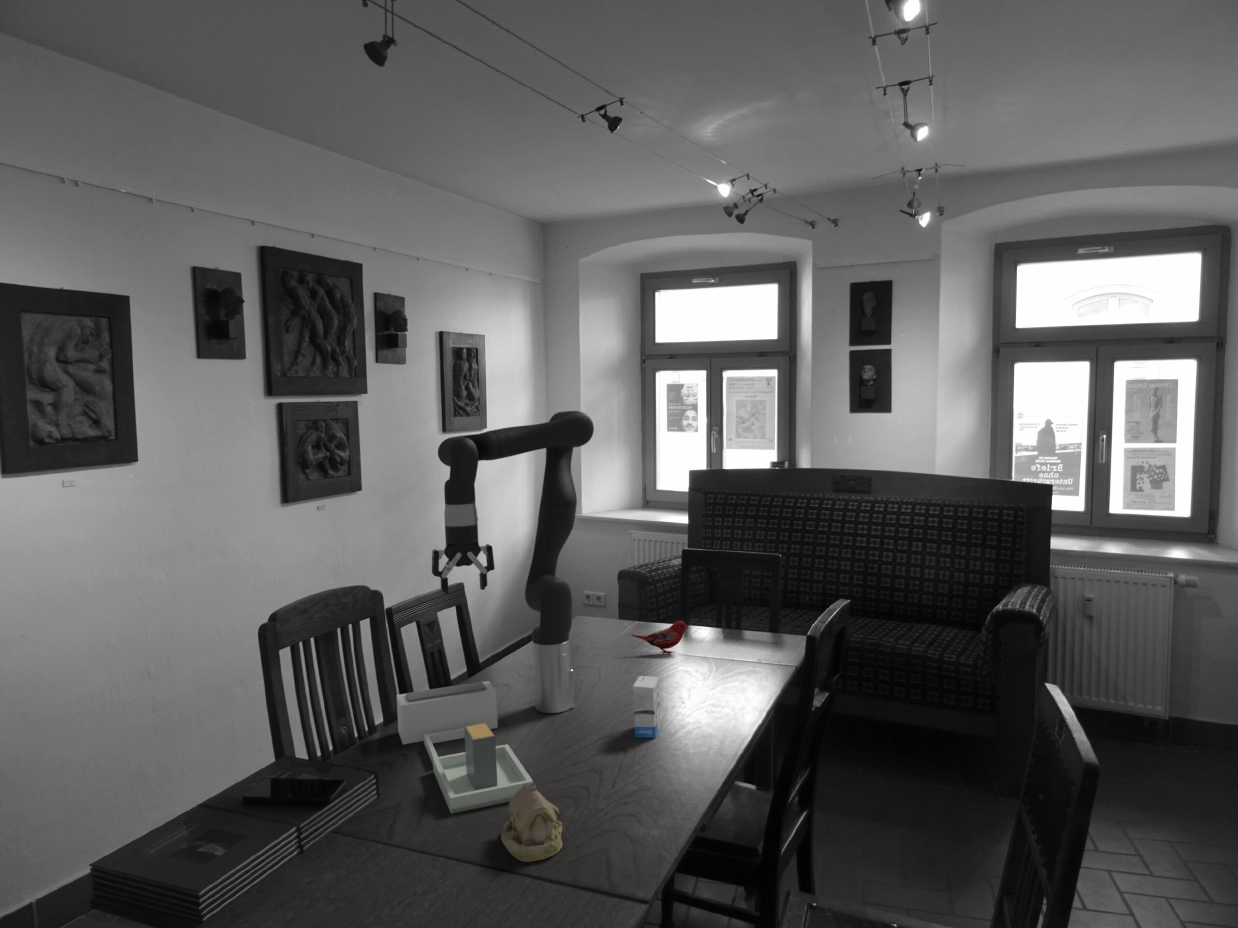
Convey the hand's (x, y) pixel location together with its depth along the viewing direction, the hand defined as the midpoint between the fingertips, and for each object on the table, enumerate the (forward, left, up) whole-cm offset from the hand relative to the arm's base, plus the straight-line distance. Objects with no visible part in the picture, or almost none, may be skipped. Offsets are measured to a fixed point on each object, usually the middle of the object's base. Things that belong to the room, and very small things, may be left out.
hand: (464, 591), depth 194 cm
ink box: (-37, +20, -33) cm, 54 cm away
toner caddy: (+4, +30, -32) cm, 44 cm away
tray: (+4, +30, -33) cm, 45 cm away
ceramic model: (0, +56, -34) cm, 65 cm away
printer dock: (+5, +6, -33) cm, 34 cm away
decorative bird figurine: (-65, -34, -33) cm, 81 cm away
